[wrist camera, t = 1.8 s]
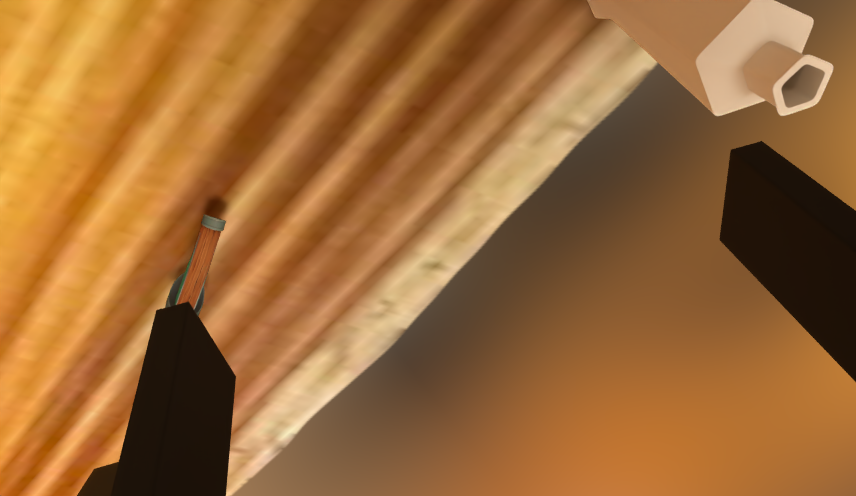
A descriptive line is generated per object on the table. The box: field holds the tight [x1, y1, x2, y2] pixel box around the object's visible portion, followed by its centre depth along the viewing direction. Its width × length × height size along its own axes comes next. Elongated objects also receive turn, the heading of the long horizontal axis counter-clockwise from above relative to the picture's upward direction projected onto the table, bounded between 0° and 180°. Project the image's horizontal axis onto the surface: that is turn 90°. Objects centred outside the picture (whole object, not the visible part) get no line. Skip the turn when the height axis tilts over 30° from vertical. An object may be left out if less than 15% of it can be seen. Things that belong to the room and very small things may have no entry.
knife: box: [165, 215, 226, 316], centre depth 38 cm, size 20×2×5 cm, turn 154°
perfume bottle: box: [587, 0, 833, 116], centre depth 27 cm, size 5×4×15 cm
